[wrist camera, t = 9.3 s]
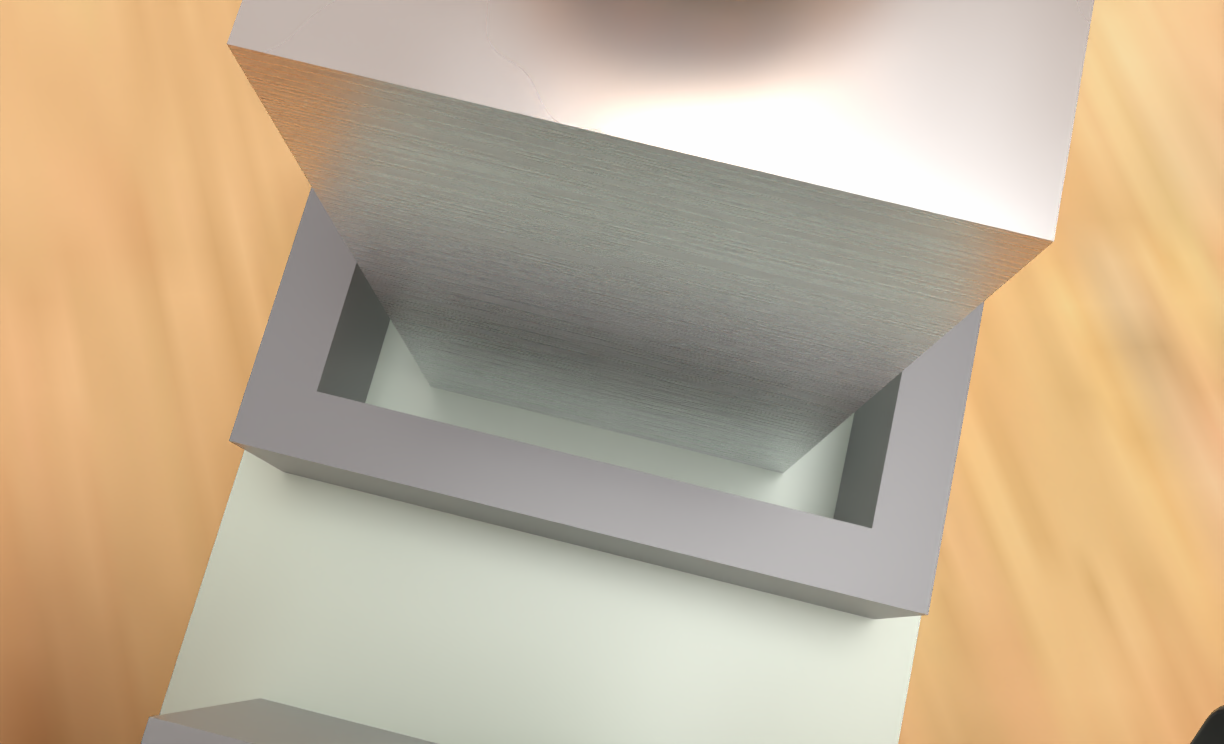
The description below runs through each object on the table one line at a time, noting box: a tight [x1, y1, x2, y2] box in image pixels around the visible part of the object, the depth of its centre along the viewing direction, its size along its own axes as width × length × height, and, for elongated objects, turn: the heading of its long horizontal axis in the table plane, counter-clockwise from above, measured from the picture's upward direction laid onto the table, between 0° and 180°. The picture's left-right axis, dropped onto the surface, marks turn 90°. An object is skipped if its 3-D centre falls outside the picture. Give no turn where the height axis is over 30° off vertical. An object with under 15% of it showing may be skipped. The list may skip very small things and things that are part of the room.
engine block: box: [227, 0, 1094, 473], centre depth 11 cm, size 5×5×12 cm
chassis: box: [141, 187, 984, 744], centre depth 15 cm, size 17×9×6 cm, turn 166°
